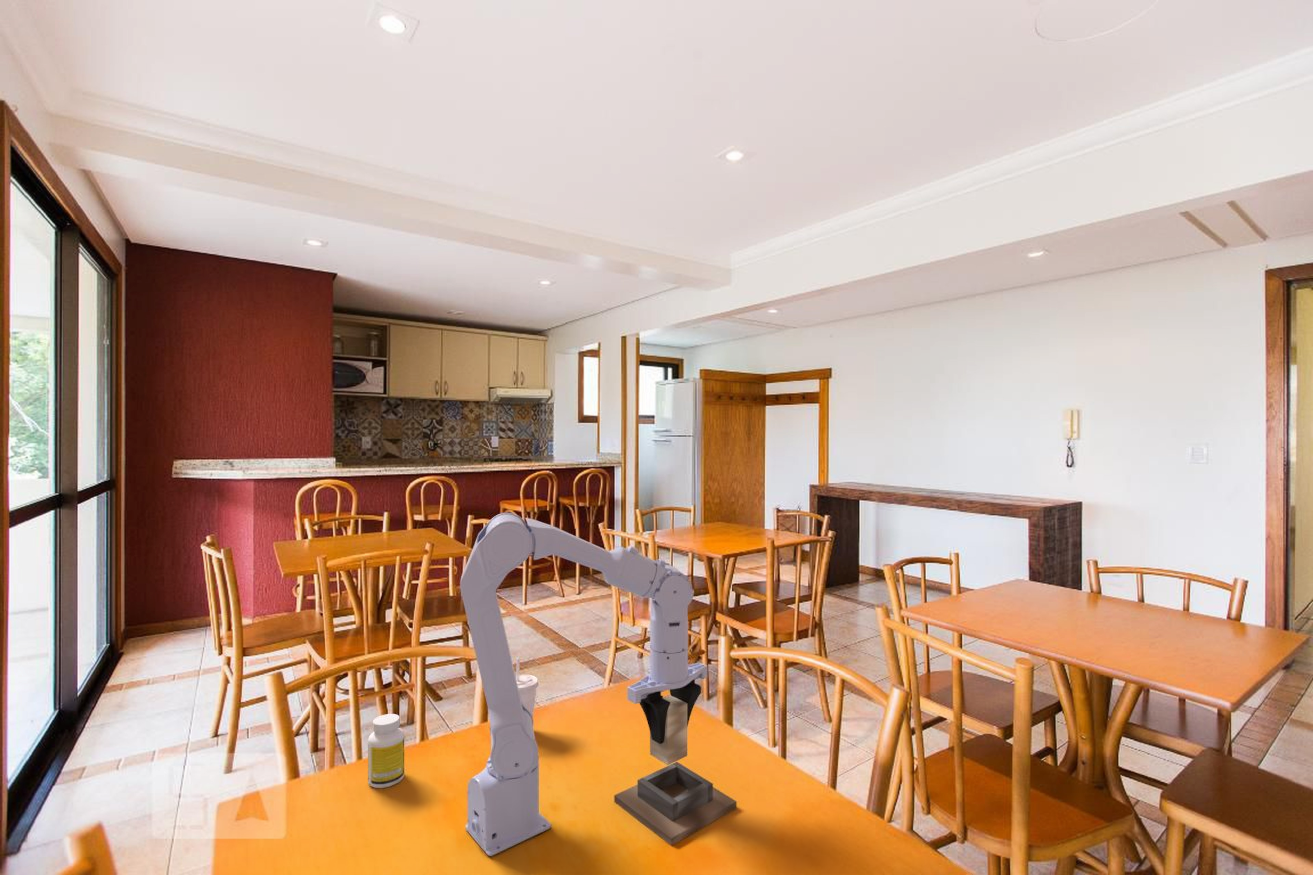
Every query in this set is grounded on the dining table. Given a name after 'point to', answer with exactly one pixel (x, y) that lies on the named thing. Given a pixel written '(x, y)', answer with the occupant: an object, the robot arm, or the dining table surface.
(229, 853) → the dining table surface
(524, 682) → the smoothie
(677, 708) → the square peg
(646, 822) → the socket block
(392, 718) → the supplement bottle
